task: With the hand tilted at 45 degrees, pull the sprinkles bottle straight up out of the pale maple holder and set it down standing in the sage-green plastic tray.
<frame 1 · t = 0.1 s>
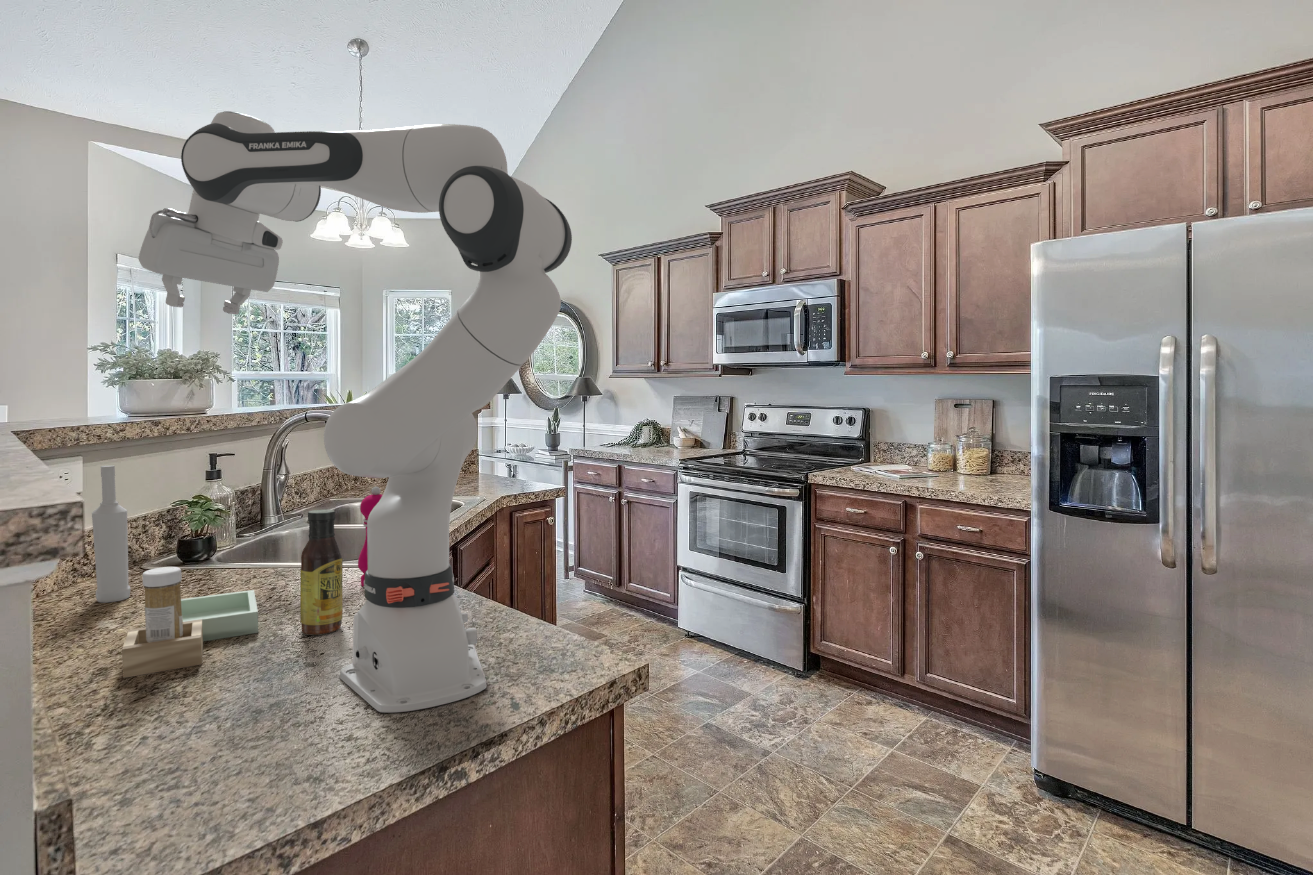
hand: (203, 309, 106), 52 cm above the counter, tool tilted 20°, fingers open, 8 cm apart
sage tray: (207, 627, 113), on the counter
pepper mill: (377, 584, 140), on the counter
bottle: (113, 599, 128), on the counter
sauce bottle: (322, 631, 113), on the counter
sprinkles bottle: (165, 661, 100), resting in maple holder
maple holder: (165, 660, 100), on the counter
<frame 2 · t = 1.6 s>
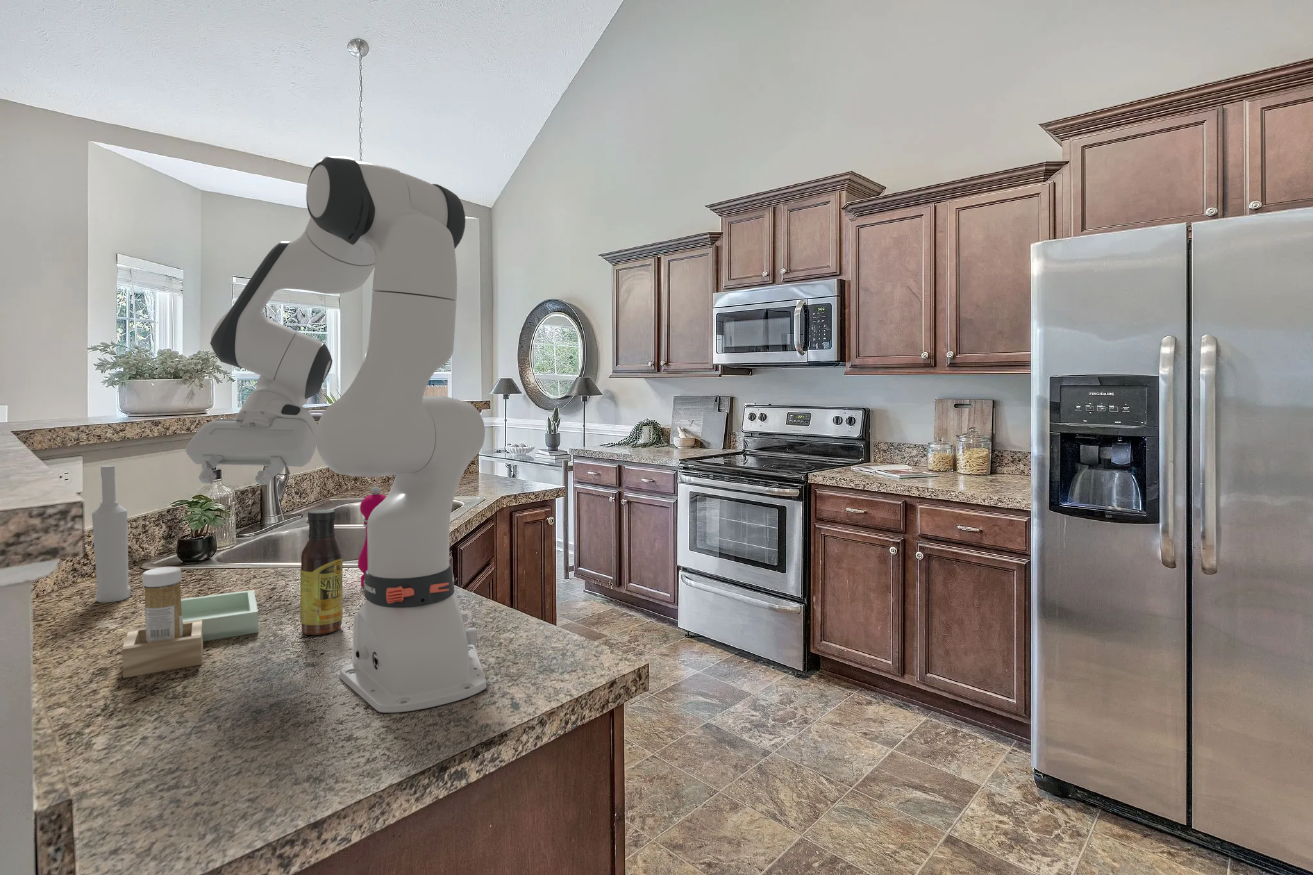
hand: (233, 481, 113), 24 cm above the counter, tool tilted 45°, fingers open, 8 cm apart
nothing on the counter moved.
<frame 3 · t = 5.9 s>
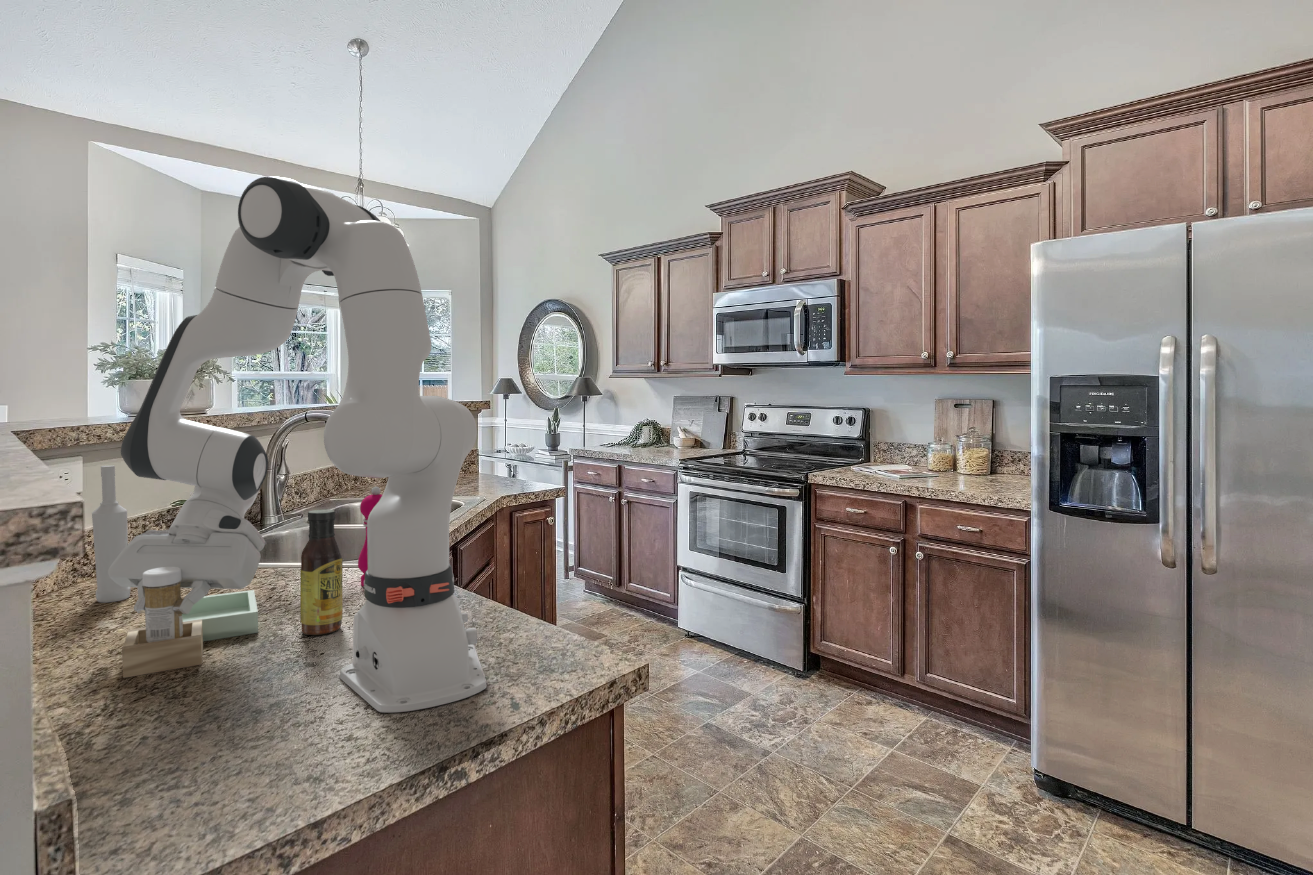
hand: (160, 612, 99), 7 cm above the counter, tool tilted 45°, fingers closed on sprinkles bottle, 4 cm apart
sprinkles bottle: (165, 661, 100), resting in maple holder, touching gripper
everything else where it was.
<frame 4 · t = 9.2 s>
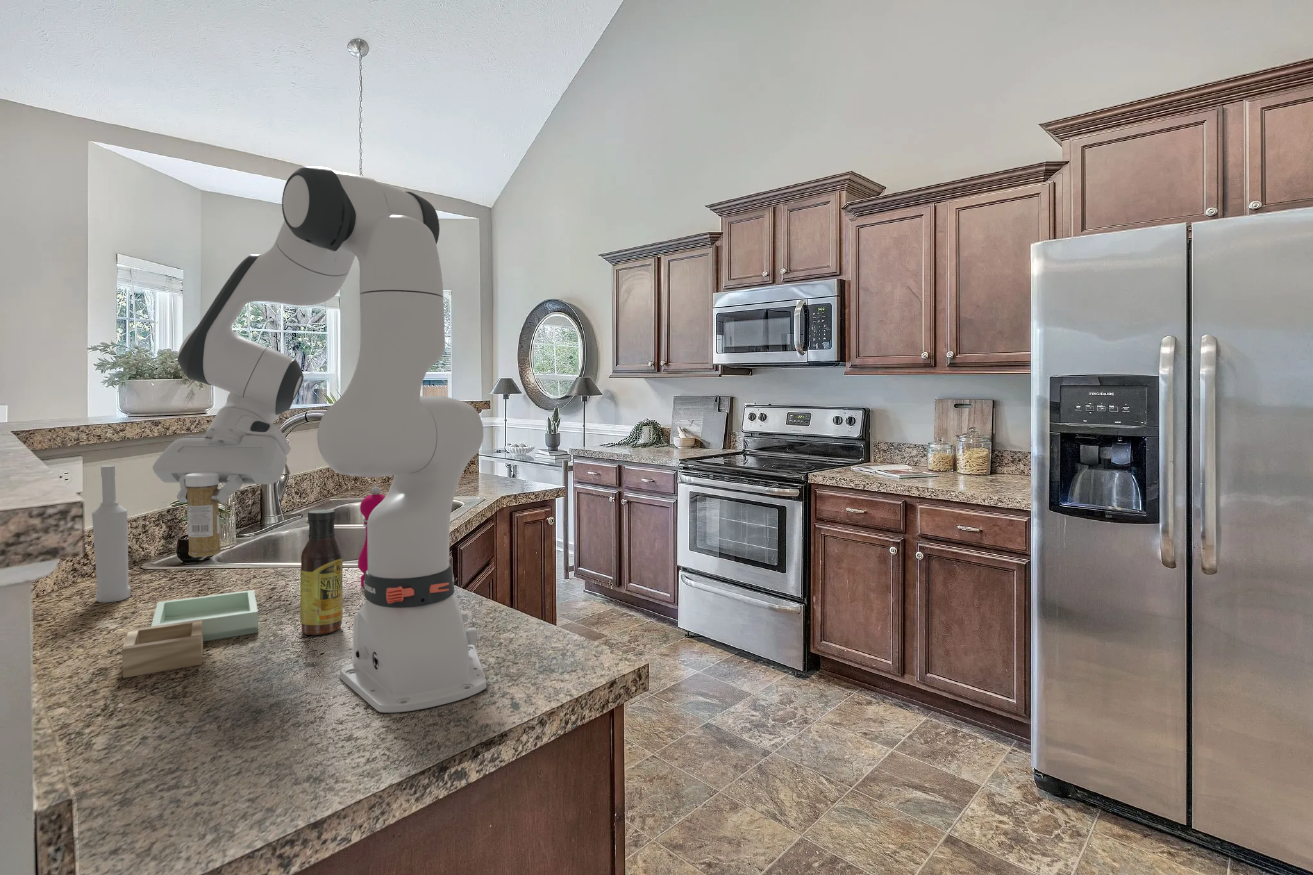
hand: (200, 500, 111), 21 cm above the counter, tool tilted 45°, fingers closed on sprinkles bottle, 4 cm apart
sprinkles bottle: (204, 555, 112), point 12 cm above the counter, touching gripper
everything else where it was.
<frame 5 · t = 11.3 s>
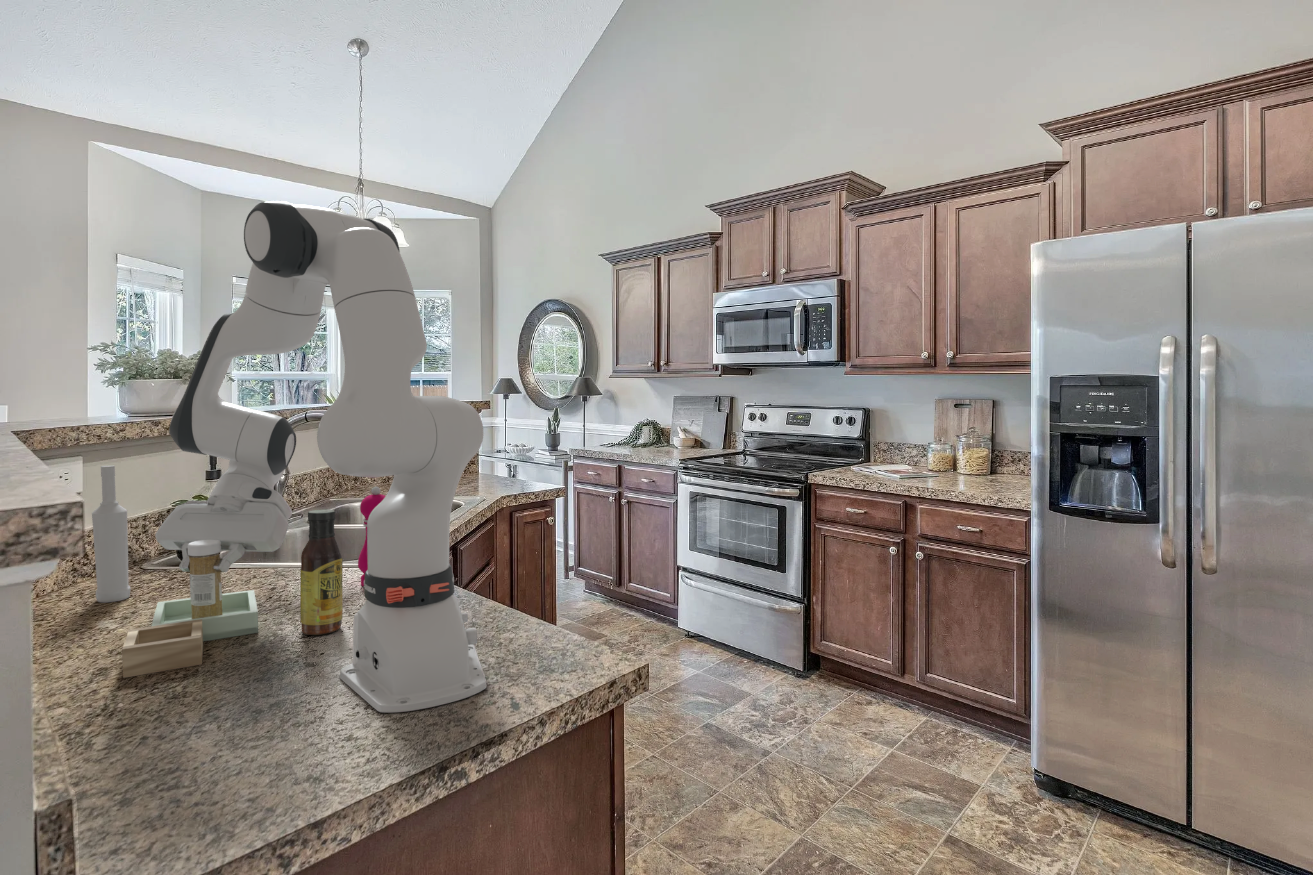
hand: (202, 570, 112), 10 cm above the counter, tool tilted 45°, fingers closed on sprinkles bottle, 4 cm apart
sprinkles bottle: (207, 622, 113), point 1 cm above the counter, touching gripper, sage tray
everything else where it was.
when the fingers open (9 cm above the counter, at t = 11.8 s): sprinkles bottle stays where it is, resting on sage tray.
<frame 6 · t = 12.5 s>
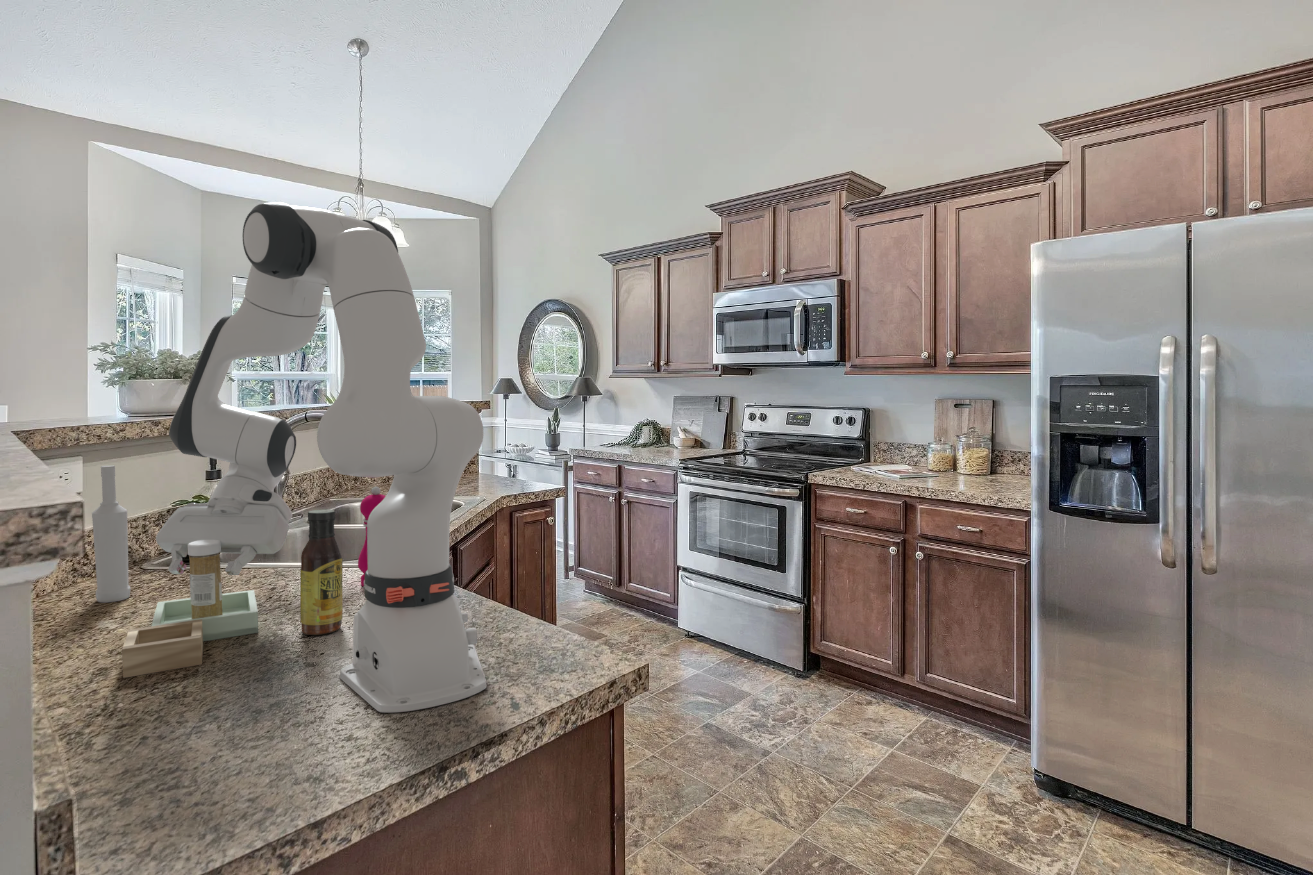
hand: (202, 572, 112), 9 cm above the counter, tool tilted 45°, fingers open, 8 cm apart
sprinkles bottle: (207, 622, 113), point 1 cm above the counter, touching sage tray
everything else where it was.
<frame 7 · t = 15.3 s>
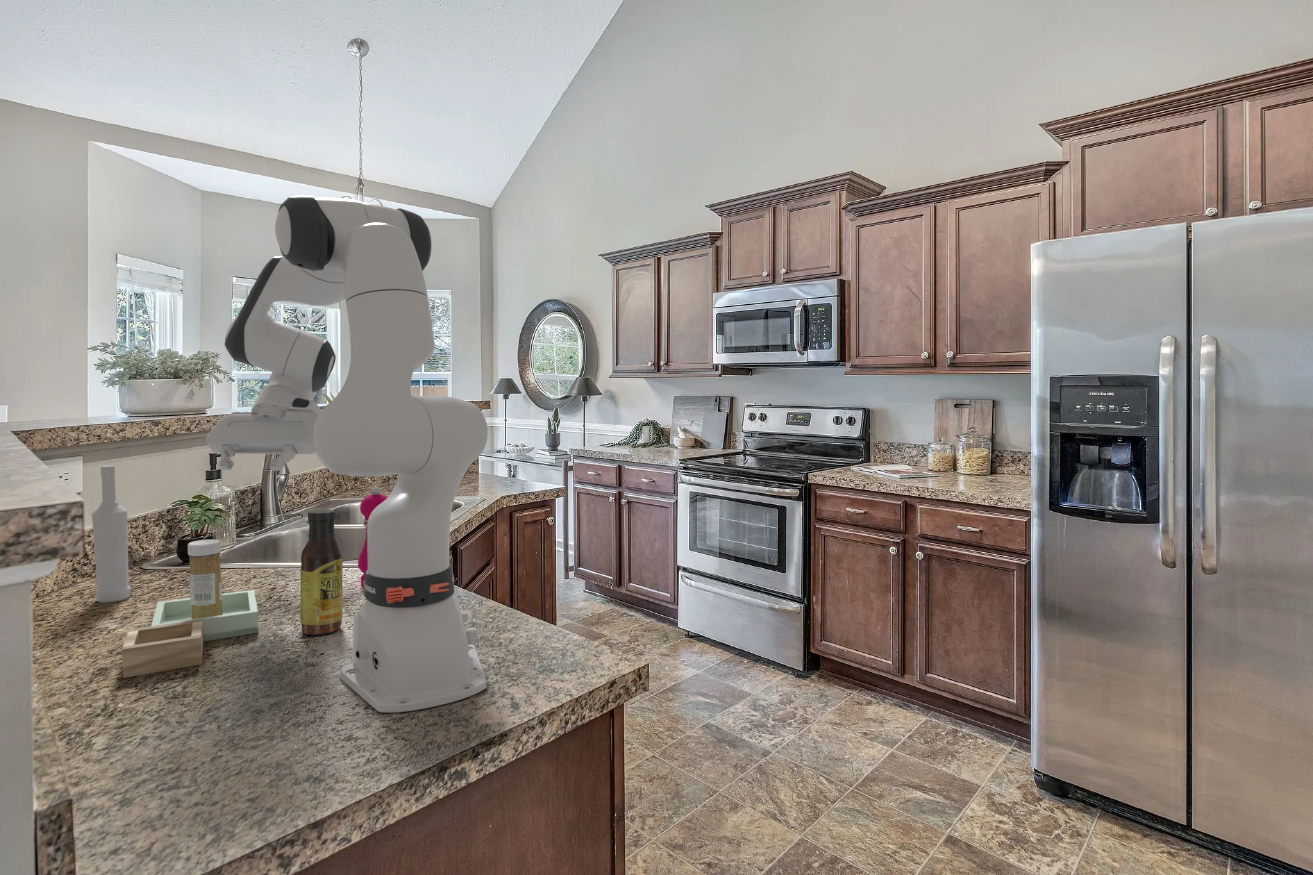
hand: (249, 468, 124), 25 cm above the counter, tool tilted 45°, fingers open, 8 cm apart
nothing on the counter moved.
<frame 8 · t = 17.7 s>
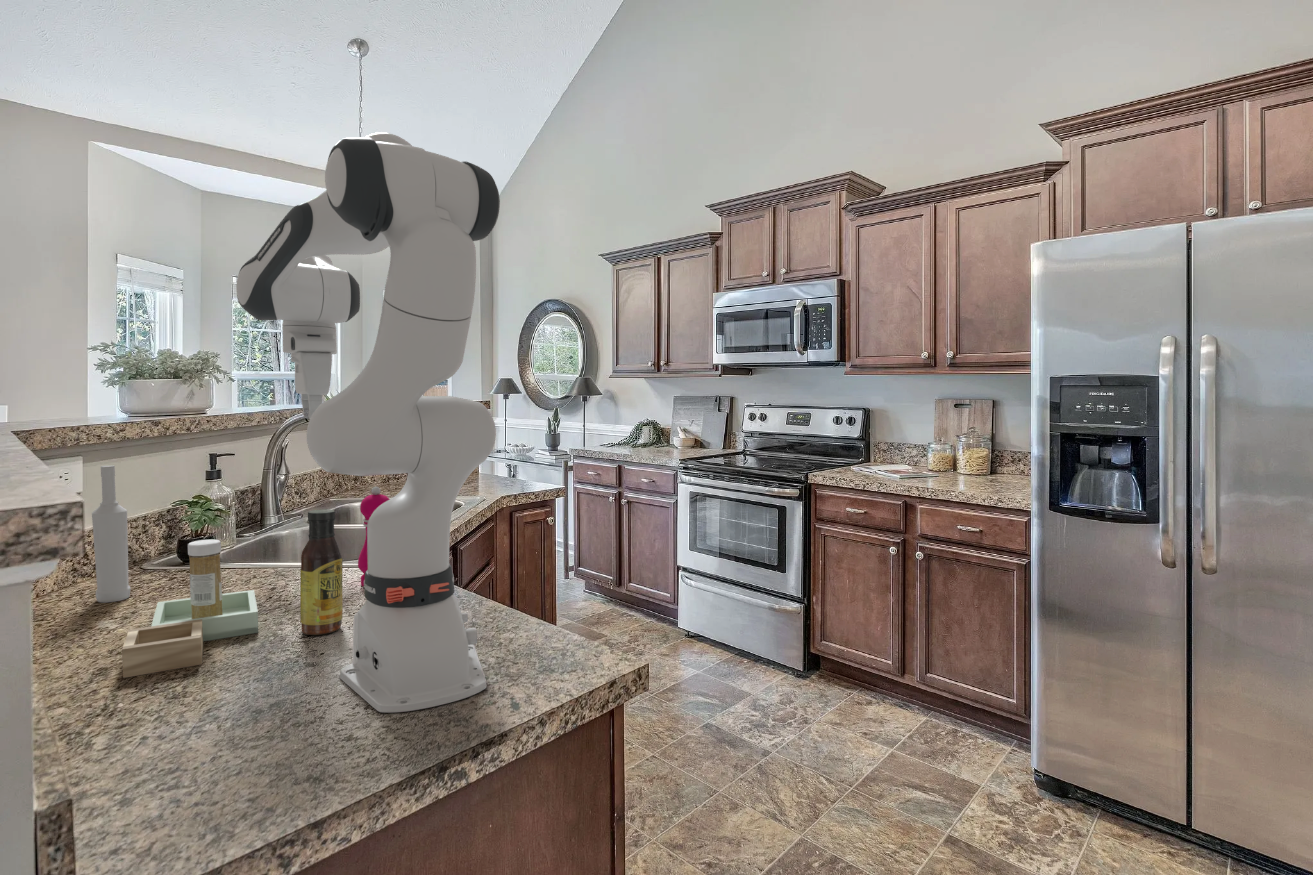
hand: (311, 419, 126), 34 cm above the counter, tool pointing down, fingers open, 8 cm apart
nothing on the counter moved.
at the end: sprinkles bottle inside the target area on the sage tray (0.1 cm from its centre), point 0.8 cm above the sage tray's base; sprinkles bottle tilted 0°; the gripper is holding nothing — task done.
